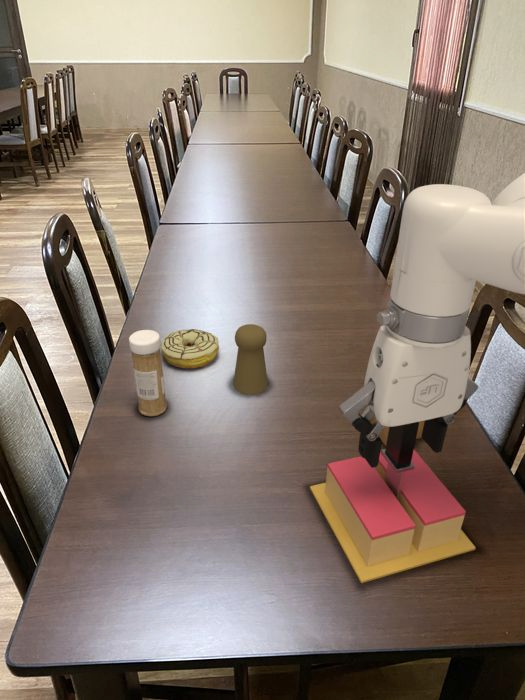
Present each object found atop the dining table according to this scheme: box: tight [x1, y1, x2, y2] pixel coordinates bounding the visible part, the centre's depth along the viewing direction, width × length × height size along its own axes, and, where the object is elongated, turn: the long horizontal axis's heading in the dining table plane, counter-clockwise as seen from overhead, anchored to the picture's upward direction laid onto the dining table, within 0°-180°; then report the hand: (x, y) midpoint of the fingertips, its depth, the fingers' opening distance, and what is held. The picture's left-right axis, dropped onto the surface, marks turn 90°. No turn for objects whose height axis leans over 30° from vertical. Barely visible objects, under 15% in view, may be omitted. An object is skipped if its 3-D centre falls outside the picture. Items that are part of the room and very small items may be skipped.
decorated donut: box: [160, 328, 220, 369], centre depth 99 cm, size 10×11×4 cm
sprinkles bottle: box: [128, 329, 168, 417], centre depth 83 cm, size 5×5×14 cm
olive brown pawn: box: [232, 323, 269, 396], centre depth 89 cm, size 6×6×11 cm
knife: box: [380, 422, 419, 500], centre depth 63 cm, size 2×4×16 cm, turn 18°
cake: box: [309, 449, 476, 584], centre depth 66 cm, size 15×15×5 cm
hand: (400, 451), depth 62 cm, fingers open, 7 cm apart
